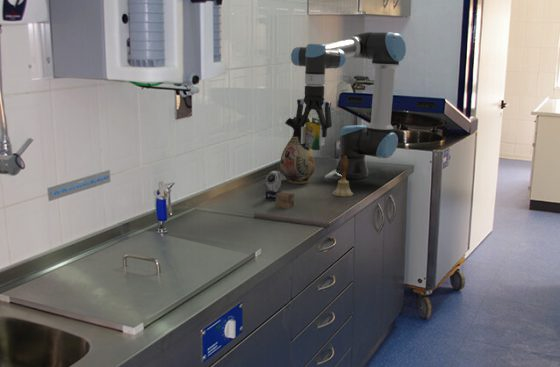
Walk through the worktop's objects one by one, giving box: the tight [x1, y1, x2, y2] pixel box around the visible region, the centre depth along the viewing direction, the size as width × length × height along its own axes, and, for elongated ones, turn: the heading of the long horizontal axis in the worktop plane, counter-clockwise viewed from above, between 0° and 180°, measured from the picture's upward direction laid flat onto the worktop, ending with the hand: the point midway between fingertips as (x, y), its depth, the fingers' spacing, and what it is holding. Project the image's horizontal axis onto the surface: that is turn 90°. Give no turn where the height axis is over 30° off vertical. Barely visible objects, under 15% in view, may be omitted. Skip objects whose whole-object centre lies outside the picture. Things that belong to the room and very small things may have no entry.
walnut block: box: [275, 190, 295, 210], centre depth 251 cm, size 5×5×5 cm
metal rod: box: [253, 212, 330, 228], centre depth 232 cm, size 2×27×2 cm, turn 69°
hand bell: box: [332, 156, 354, 197], centre depth 270 cm, size 8×8×16 cm
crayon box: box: [305, 117, 321, 151], centre depth 256 cm, size 7×3×12 cm, turn 24°
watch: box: [264, 170, 283, 201], centre depth 260 cm, size 6×8×11 cm
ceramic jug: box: [279, 114, 316, 185], centre depth 286 cm, size 17×15×30 cm
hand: (312, 144), depth 257 cm, fingers closed on crayon box, 7 cm apart
